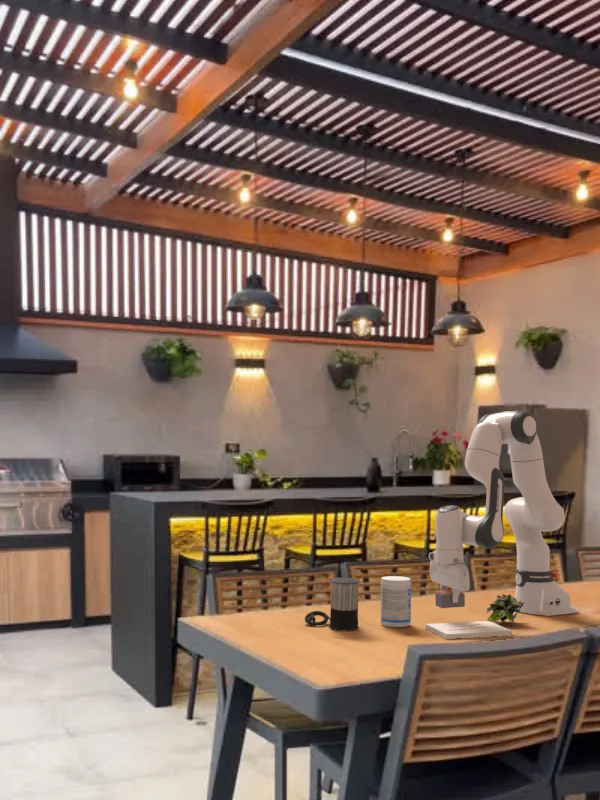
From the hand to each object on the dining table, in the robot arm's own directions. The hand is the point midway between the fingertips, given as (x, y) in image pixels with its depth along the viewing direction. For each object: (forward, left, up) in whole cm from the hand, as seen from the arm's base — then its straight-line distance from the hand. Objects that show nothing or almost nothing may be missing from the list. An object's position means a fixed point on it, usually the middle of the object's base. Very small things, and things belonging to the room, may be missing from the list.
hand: (450, 600), depth 268 cm
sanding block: (0, 0, -2) cm, 2 cm away
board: (0, +12, -7) cm, 14 cm away
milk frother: (+39, -4, -8) cm, 40 cm away
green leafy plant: (-18, +4, -8) cm, 20 cm away
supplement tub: (+18, -2, -8) cm, 20 cm away
